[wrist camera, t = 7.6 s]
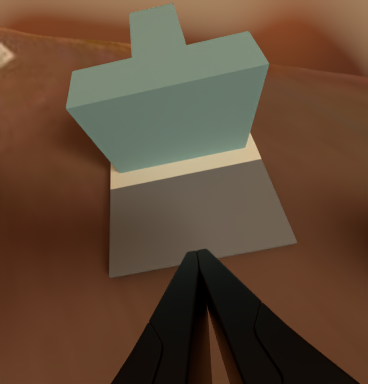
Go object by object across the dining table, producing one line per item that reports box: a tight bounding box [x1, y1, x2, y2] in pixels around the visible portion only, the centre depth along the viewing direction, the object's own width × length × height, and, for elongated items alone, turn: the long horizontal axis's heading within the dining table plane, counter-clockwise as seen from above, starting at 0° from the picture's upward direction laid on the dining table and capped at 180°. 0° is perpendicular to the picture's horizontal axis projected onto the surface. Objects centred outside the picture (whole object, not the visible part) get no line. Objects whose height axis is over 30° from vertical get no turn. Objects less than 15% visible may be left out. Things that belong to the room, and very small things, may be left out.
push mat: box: [109, 133, 297, 278], centre depth 20 cm, size 22×15×1 cm
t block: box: [66, 3, 269, 173], centre depth 18 cm, size 11×13×8 cm
